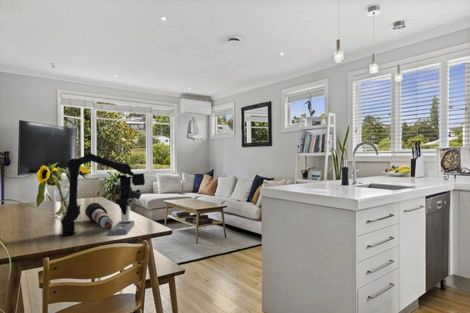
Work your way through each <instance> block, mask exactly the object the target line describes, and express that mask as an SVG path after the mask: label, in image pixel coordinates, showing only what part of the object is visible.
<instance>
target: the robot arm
mask: <svg viewBox="0 0 470 313" xmlns="http://www.w3.org/2000/svg"><path fill="white" fill-rule="evenodd" d="M89 162H94V163H97V164H98V165H102V166H105V167H108V168H111V169H114V170H115V171H117V172H119V173H118V175H117V176H116V177H115V178H116V179H119V188H118V191H119V196H118V198H116V199H115V204H116V205H118V206H119V209H120V211H121V210H122V212H123V214H124V215H126V210H127V206H130V205H131V202H133V200H134V199H136V200H140V198H141V196H142V194H143V193H142V192H141V189H136V190H134V189H133V187H132V186H131V184H132V185H133V186H134V187H135V186H145V183H146V182H145V181H146V180H145V173H144V172H143V173H134V172H133V171H132V170H131V169H132V167H131V165H130V164H128V163H124V162H117V161H113V160H110V159H108V158H104V157H102V156H99V155H96V154H94V153H88V154H87V155H83V156H81V157H79V158H71V159H69V160H68V162H67V168H68V174H69V190H68V192H69V193H68V196H69V197H68V205H67V209H66V212H65V215H64V216H63V218H62V219H61V220H60V223H61V234H59V237H70V236H75V235H76V234H77V233H78V231H75V230H76V228H75V227H76V226H75V221H76V220H77V219H78V217H79V215H81V204H79V203H78V186H79V175H80V170H81V167H82V165H84V164H87V163H89ZM127 175H129V176H127ZM78 204H79V205H78Z"/></svg>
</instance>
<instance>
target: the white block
mask: <svg viewBox="0 0 470 313" xmlns="http://www.w3.org/2000/svg"><path fill="white" fill-rule="evenodd" d="M120 221H121V222H129V221H131V206H130V205H129V206H127V210H126V215H124V214H123V212H122V210H121V209H120Z"/></svg>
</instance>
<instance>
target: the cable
mask: <svg viewBox="0 0 470 313" xmlns="http://www.w3.org/2000/svg"><path fill="white" fill-rule="evenodd" d="M84 213H85V215H86V217H87V218H88V219H89V220H90V221H91V222H92V223H94V224H97V225H99V226H100V227H102V228H108V229H110V230H111V229H112V228H113V224H114V222H113V220H112V218H110V216H109V215H108V211H107V210H106V208H105V207H104V206H102V204H100V203H98V202H94V203H93V202H92V203H90V204H88V205H87V206H86V208H85V212H84Z"/></svg>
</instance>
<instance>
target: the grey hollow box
mask: <svg viewBox="0 0 470 313" xmlns="http://www.w3.org/2000/svg"><path fill="white" fill-rule="evenodd" d="M134 226H135V220H130V221H129V222H121V220H120V221H119V222H117V223H116V224H115V225H114V226H112V228H110V230H109V235H110V236H123V235H126V236H127V235H128V234H129V232H130V231H131V230H132V229H133V228H134Z"/></svg>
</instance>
